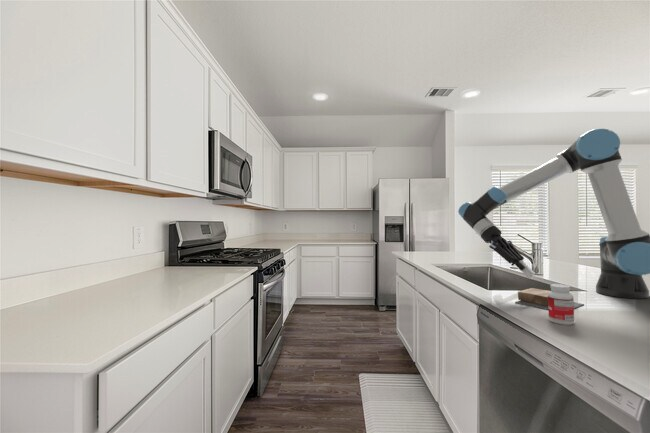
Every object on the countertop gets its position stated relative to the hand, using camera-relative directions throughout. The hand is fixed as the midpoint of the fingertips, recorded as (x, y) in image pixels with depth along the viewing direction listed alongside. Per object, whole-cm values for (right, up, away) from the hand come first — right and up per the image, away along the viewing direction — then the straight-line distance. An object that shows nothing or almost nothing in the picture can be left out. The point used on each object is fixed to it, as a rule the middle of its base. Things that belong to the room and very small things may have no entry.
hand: (531, 275), depth 114 cm
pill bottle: (-7, -10, -23) cm, 25 cm away
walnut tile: (-1, -7, +2) cm, 8 cm away
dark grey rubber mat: (+3, -9, -5) cm, 11 cm away
